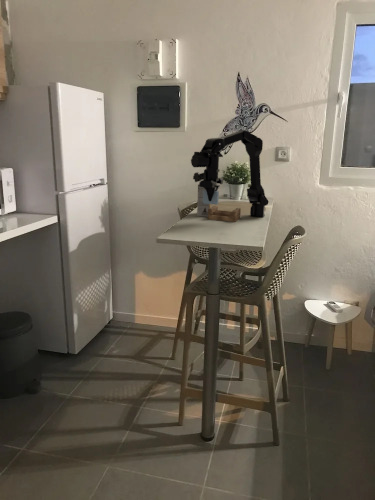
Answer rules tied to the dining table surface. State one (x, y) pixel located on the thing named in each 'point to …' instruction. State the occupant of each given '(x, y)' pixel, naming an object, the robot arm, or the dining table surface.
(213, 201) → the blue-gray rectangular block
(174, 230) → the dining table surface
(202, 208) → the coffee box
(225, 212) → the brown frame
